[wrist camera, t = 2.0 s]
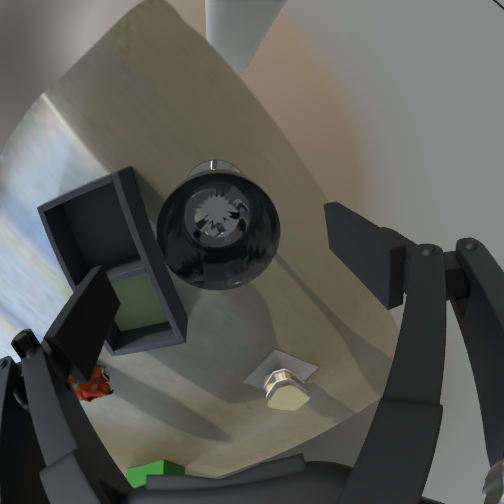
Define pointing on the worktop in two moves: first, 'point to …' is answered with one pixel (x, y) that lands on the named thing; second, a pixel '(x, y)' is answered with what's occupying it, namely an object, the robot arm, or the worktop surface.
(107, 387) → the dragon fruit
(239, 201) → the wine glass
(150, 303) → the divided tray
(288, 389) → the stacked layers on plate
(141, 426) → the worktop surface
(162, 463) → the hardback book
